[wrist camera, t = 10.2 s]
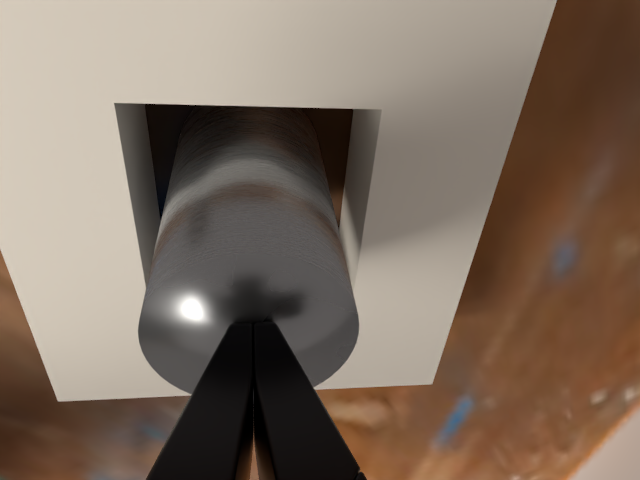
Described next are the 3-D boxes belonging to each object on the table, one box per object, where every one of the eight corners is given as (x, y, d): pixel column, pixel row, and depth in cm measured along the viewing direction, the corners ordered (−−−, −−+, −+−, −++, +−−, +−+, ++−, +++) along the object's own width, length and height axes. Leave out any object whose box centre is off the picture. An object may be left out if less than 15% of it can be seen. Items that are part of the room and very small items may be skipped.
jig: (410, 319, 20) (432, 384, 18) (81, 329, 19) (57, 401, 16) (522, -121, 12) (592, -110, 9) (-65, -173, 10) (-160, -174, 8)
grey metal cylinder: (314, 211, 17) (347, 399, 11) (184, 211, 16) (151, 408, 11) (324, 89, 14) (372, 252, 9) (172, 84, 14) (121, 254, 8)
